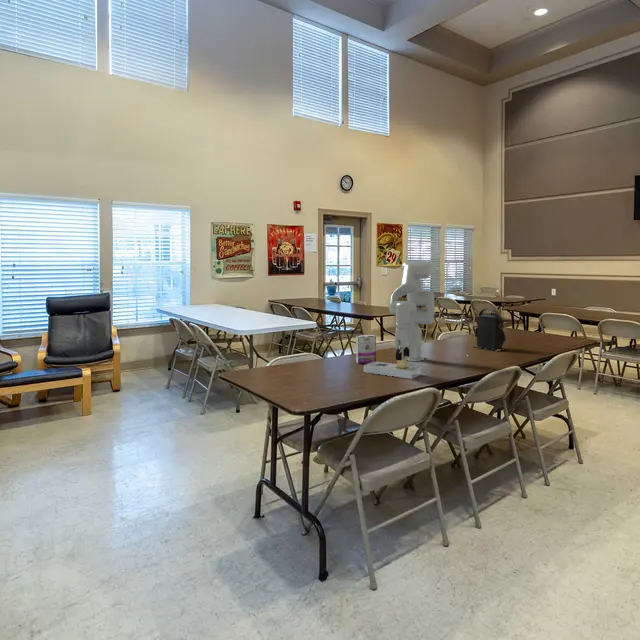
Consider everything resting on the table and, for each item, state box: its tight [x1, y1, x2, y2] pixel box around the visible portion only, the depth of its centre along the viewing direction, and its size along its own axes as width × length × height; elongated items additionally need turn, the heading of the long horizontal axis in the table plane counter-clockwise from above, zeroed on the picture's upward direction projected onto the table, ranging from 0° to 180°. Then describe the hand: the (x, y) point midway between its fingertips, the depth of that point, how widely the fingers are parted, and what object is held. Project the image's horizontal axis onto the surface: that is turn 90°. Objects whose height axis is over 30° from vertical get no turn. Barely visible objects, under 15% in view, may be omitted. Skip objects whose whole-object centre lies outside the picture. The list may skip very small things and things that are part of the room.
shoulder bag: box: [474, 308, 507, 351], centre depth 322 cm, size 23×9×28 cm, turn 34°
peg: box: [396, 355, 408, 369], centre depth 249 cm, size 4×4×10 cm
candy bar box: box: [355, 334, 377, 365], centre depth 280 cm, size 11×5×16 cm, turn 101°
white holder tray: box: [363, 361, 422, 380], centre depth 253 cm, size 12×28×4 cm, turn 56°
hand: (402, 358), depth 249 cm, fingers open, 9 cm apart
